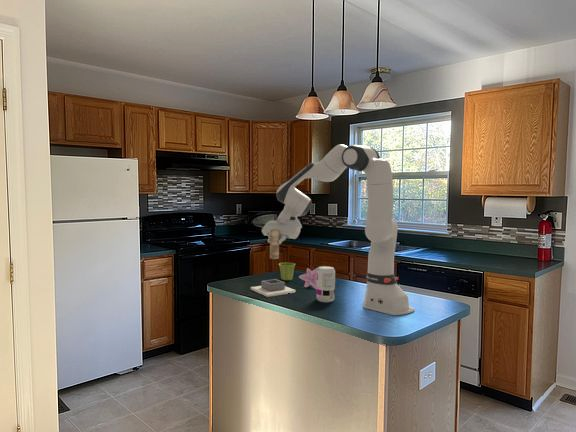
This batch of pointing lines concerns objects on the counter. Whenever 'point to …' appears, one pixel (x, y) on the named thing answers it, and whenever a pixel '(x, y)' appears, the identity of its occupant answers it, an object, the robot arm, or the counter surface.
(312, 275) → the lily
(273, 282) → the docking plate
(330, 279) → the supplement can
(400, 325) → the counter surface
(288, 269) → the plant pot
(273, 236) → the beech peg
